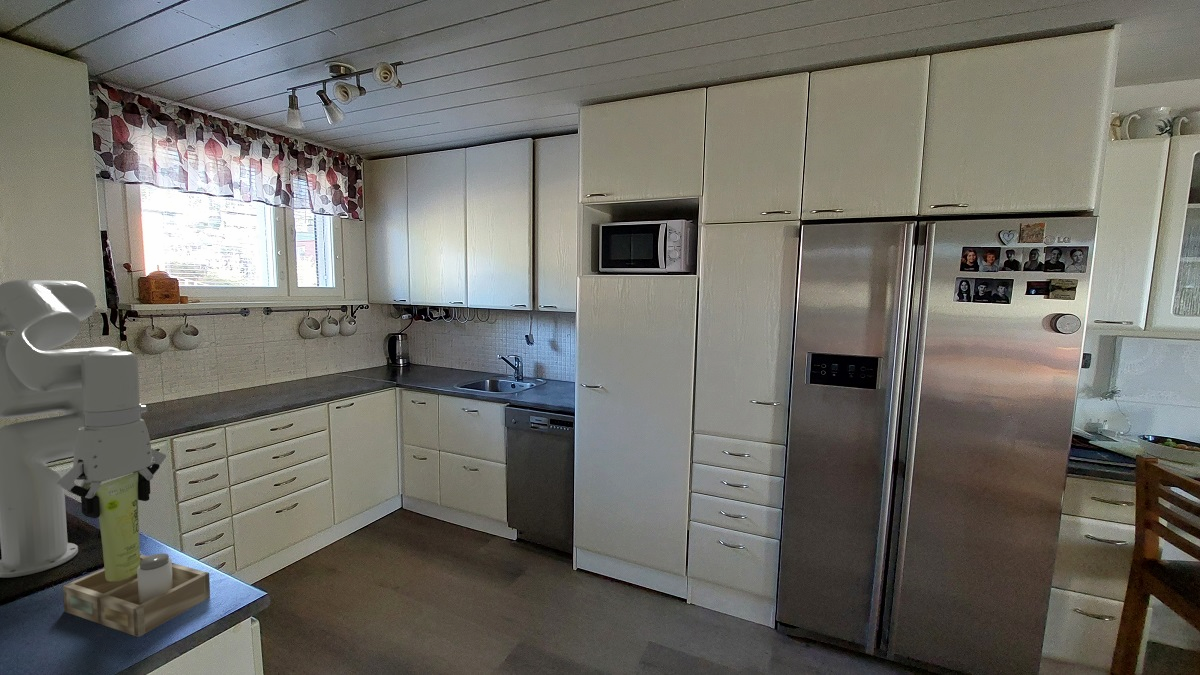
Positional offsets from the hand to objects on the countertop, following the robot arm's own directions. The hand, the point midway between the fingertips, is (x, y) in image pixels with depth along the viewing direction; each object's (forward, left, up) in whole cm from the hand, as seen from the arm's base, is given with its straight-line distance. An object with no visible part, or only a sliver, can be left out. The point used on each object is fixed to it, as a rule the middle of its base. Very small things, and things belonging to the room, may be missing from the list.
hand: (118, 507), depth 94 cm
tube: (0, 0, -14) cm, 14 cm away
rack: (+5, 0, -19) cm, 20 cm away
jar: (+9, 0, -18) cm, 21 cm away
